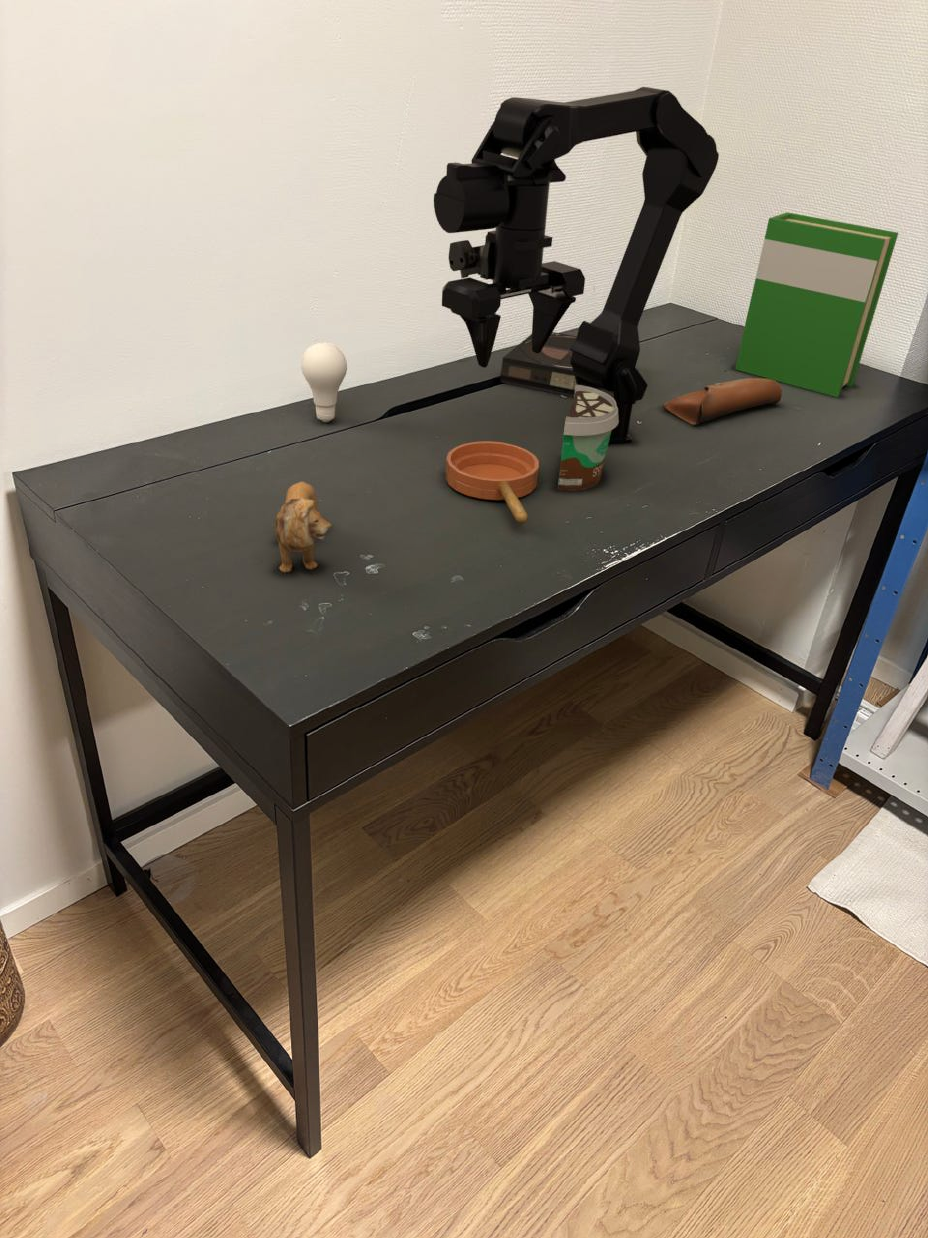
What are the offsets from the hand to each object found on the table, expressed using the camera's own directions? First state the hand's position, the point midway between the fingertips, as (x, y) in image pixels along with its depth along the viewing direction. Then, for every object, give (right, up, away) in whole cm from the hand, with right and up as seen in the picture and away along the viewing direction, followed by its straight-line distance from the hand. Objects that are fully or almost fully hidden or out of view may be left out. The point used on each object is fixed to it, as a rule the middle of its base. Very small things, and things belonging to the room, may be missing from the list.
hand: (509, 359), depth 116 cm
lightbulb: (-25, -5, +15) cm, 30 cm away
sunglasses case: (+34, 0, +28) cm, 44 cm away
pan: (-2, -15, +2) cm, 15 cm away
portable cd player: (+11, +7, +36) cm, 38 cm away
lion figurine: (-23, -25, -15) cm, 37 cm away
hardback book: (+49, +8, +42) cm, 65 cm away
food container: (+10, -14, +5) cm, 18 cm away
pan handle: (0, -19, -6) cm, 20 cm away
